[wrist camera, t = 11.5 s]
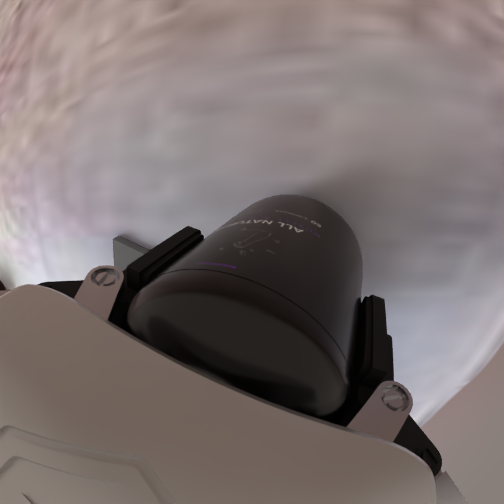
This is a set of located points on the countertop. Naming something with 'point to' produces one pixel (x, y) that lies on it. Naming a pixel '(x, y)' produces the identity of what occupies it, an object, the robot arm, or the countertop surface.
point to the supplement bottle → (264, 306)
